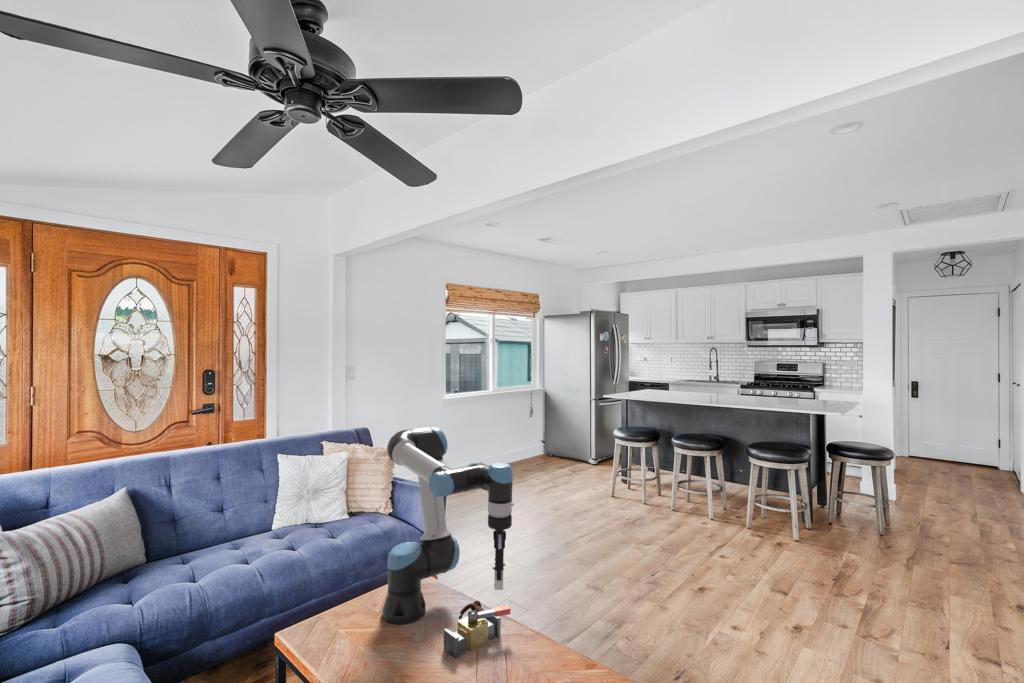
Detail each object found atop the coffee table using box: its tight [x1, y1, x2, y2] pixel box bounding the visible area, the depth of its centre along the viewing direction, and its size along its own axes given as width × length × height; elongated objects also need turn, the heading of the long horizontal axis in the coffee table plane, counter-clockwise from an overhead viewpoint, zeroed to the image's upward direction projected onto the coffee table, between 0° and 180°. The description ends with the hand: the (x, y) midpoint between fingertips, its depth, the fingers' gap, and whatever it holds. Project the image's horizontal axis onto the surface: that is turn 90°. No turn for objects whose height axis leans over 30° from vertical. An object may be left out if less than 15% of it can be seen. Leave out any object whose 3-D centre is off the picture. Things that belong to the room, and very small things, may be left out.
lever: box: [467, 605, 511, 623], centre depth 161 cm, size 14×3×2 cm, turn 111°
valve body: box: [443, 616, 502, 661], centre depth 159 cm, size 7×18×7 cm, turn 132°
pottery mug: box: [458, 600, 485, 621], centre depth 170 cm, size 12×10×8 cm
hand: (498, 588), depth 156 cm, fingers closed
